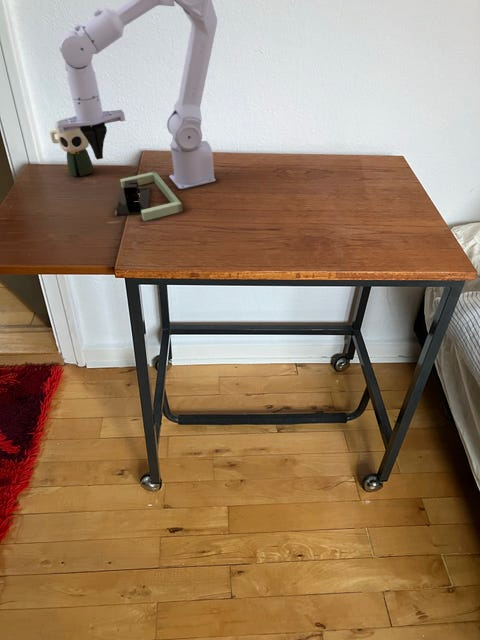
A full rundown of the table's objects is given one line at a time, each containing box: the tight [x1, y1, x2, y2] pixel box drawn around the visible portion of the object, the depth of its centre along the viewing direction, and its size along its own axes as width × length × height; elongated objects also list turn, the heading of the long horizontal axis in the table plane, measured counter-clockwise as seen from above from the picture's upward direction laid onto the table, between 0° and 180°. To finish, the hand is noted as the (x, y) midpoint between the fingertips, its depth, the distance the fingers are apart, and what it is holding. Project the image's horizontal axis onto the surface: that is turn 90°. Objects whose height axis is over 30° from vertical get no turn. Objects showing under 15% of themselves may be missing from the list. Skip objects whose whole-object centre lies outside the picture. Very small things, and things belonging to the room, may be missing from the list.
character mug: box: [49, 117, 94, 177], centre depth 134 cm, size 11×7×13 cm, turn 90°
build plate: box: [114, 180, 151, 217], centre depth 123 cm, size 12×7×5 cm, turn 4°
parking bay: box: [119, 171, 183, 222], centre depth 125 cm, size 9×19×2 cm, turn 25°
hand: (99, 157), depth 122 cm, fingers closed
